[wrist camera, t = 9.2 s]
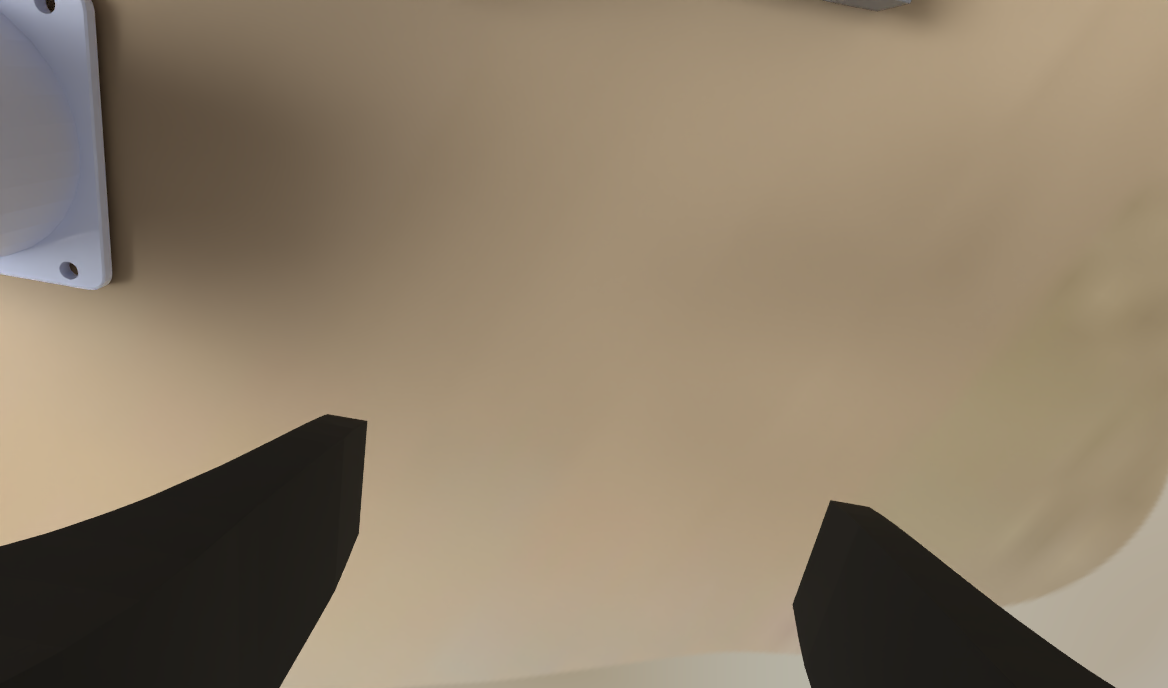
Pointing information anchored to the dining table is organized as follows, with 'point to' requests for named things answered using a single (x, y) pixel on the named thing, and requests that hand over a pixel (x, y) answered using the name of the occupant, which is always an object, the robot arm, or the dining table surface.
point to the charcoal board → (872, 3)
